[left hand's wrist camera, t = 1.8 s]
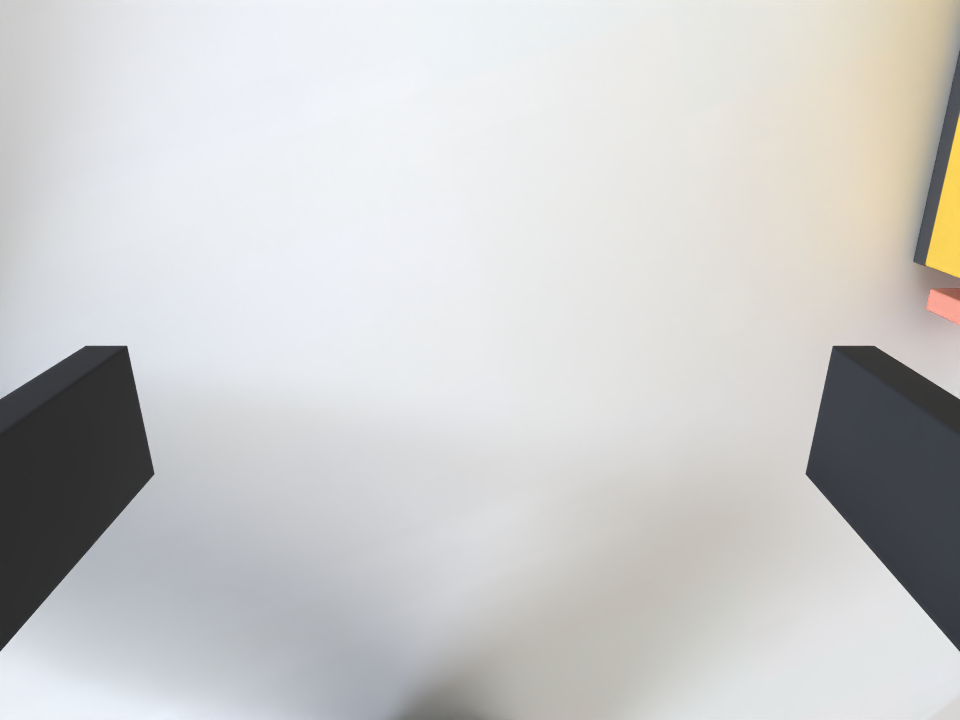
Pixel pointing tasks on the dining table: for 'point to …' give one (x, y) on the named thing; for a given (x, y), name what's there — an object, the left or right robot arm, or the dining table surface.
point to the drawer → (945, 303)
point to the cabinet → (944, 196)
